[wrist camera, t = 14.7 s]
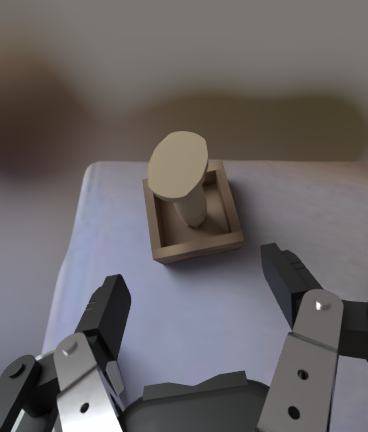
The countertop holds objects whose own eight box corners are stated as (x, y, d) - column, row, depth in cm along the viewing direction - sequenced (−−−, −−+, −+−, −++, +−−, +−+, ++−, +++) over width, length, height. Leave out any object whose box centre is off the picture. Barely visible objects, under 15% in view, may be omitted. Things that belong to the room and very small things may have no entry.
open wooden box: (221, 177, 36) (221, 160, 31) (240, 247, 32) (244, 240, 27) (152, 194, 36) (142, 179, 32) (162, 264, 32) (153, 259, 28)
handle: (217, 202, 33) (215, 136, 19) (205, 243, 31) (192, 204, 17) (186, 195, 34) (163, 127, 20) (173, 234, 33) (137, 190, 19)
